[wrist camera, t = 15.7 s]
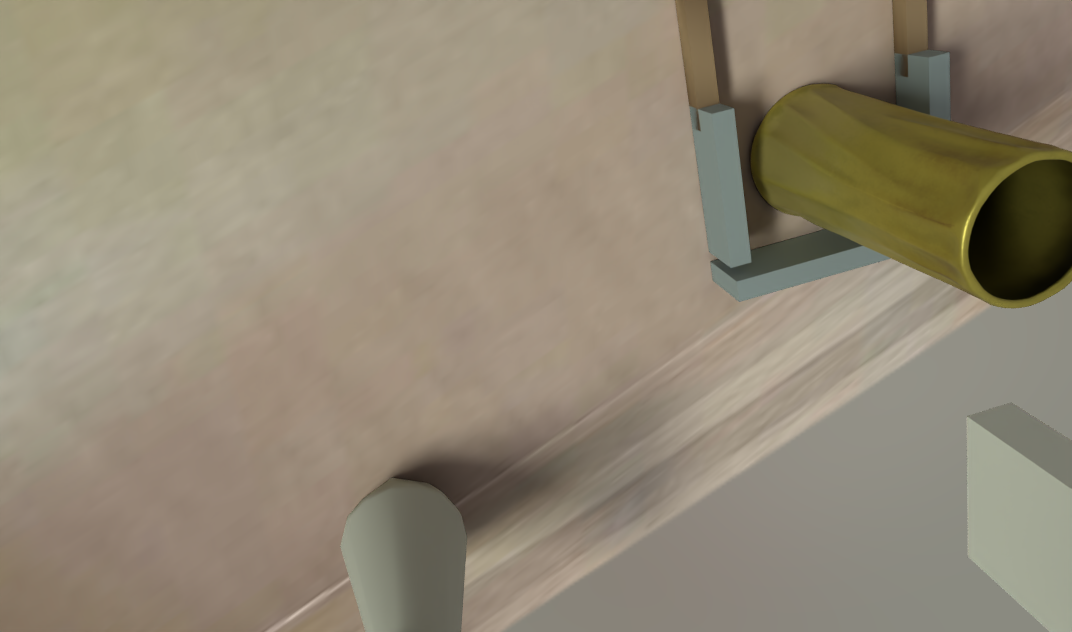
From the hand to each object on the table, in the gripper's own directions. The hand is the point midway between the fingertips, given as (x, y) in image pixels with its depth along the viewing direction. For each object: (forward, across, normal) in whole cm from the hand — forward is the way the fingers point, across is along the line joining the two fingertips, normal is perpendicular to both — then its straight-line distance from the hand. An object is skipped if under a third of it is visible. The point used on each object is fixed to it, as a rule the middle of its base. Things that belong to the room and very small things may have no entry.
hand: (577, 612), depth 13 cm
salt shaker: (+27, -5, -15) cm, 31 cm away
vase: (+27, +18, -2) cm, 32 cm away
